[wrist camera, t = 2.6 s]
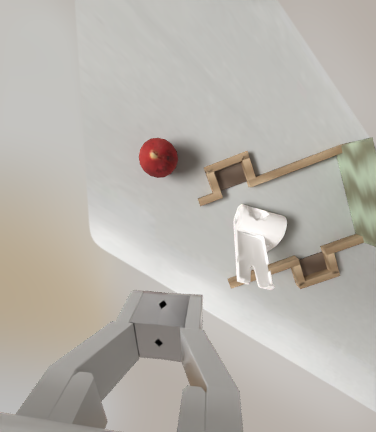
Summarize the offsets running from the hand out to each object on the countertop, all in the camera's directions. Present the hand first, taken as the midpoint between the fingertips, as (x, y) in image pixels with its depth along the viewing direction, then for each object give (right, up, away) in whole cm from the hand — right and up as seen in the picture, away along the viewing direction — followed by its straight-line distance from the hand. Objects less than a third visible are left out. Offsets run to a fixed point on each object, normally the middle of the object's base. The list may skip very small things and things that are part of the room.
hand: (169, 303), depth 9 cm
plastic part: (+12, +1, +29) cm, 32 cm away
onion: (-4, +13, +27) cm, 30 cm away
